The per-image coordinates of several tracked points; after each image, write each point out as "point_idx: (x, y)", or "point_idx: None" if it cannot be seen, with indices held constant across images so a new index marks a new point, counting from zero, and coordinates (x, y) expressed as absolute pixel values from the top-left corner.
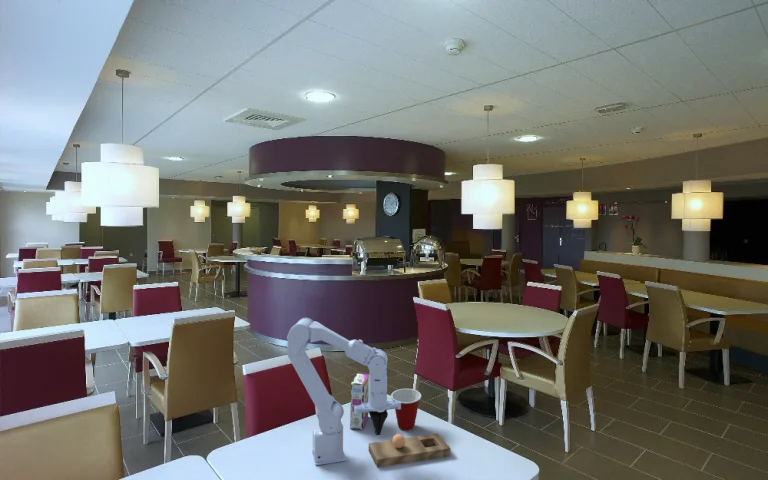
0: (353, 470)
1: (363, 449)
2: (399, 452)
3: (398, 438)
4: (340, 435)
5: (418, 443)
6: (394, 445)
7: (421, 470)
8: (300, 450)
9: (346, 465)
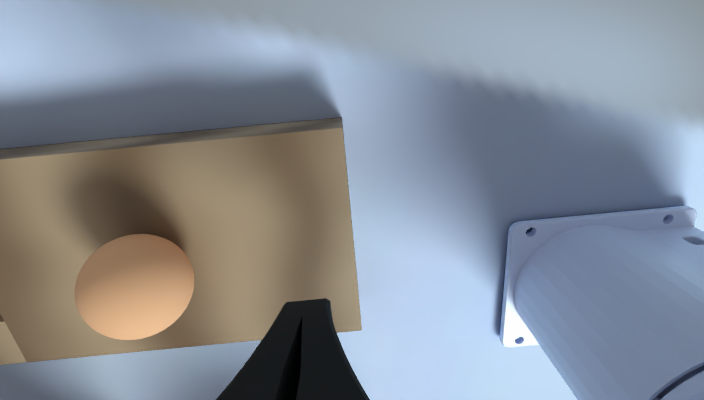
0: (495, 118)
1: (383, 315)
2: (159, 193)
3: (121, 279)
4: (655, 346)
5: (10, 282)
6: (184, 253)
7: (27, 23)
8: None
9: (520, 179)
